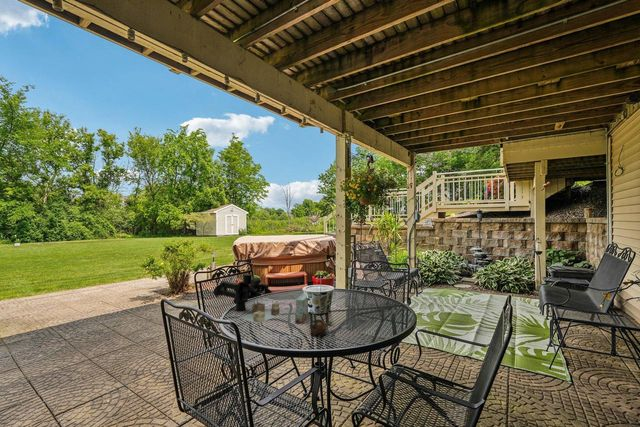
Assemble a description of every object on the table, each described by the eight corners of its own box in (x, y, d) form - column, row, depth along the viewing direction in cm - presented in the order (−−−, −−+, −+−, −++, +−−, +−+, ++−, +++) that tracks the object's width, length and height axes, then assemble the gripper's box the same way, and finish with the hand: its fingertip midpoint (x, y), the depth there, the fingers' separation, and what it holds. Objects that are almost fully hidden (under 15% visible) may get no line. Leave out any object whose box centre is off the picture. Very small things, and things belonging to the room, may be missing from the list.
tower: (271, 314, 197) (271, 303, 198) (275, 313, 201) (275, 302, 201) (275, 315, 195) (275, 304, 195) (279, 314, 198) (279, 303, 199)
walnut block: (252, 313, 199) (252, 304, 199) (258, 311, 204) (258, 302, 204) (258, 315, 196) (258, 306, 196) (264, 313, 201) (264, 304, 201)
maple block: (253, 321, 185) (253, 313, 185) (259, 318, 189) (259, 311, 189) (258, 322, 182) (259, 314, 182) (264, 320, 186) (264, 312, 186)
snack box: (303, 324, 183) (303, 300, 184) (294, 323, 184) (295, 299, 185) (311, 313, 204) (311, 292, 204) (303, 313, 205) (303, 291, 206)
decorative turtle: (313, 339, 159) (313, 324, 160) (307, 331, 174) (306, 317, 174) (330, 337, 162) (329, 322, 163) (322, 329, 176) (321, 315, 177)
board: (238, 319, 191) (238, 317, 191) (262, 310, 209) (262, 309, 209) (257, 325, 180) (257, 323, 180) (281, 315, 199) (281, 314, 199)
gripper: (239, 280, 195) (256, 283, 186) (260, 276, 210) (276, 278, 201) (239, 297, 194) (255, 301, 186) (260, 291, 210) (276, 294, 201)
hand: (266, 293), depth 193 cm, fingers open, 9 cm apart
